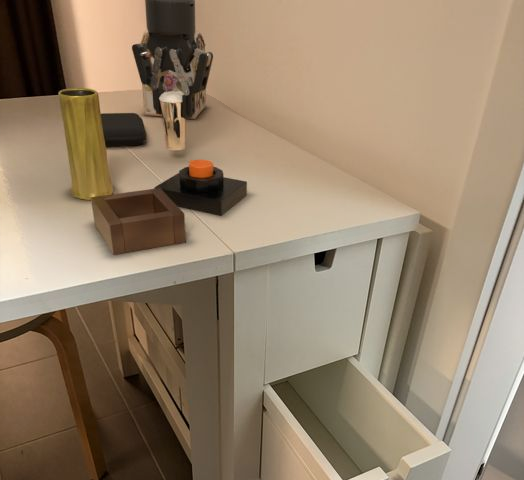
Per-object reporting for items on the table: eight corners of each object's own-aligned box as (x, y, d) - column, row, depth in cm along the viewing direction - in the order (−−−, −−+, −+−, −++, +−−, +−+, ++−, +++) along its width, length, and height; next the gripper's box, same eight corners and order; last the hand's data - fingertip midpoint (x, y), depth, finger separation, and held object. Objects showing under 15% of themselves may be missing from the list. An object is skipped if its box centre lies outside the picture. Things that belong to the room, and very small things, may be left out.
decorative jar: (143, 116, 121) (135, 20, 110) (158, 103, 130) (152, 14, 119) (196, 120, 120) (194, 24, 109) (207, 107, 129) (206, 18, 118)
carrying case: (89, 127, 112) (89, 149, 101) (87, 111, 110) (86, 132, 99) (142, 126, 115) (148, 147, 103) (141, 110, 113) (146, 130, 101)
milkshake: (178, 141, 100) (175, 81, 94) (193, 149, 96) (191, 86, 91) (156, 145, 98) (151, 83, 92) (170, 153, 94) (166, 89, 88)
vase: (96, 203, 81) (81, 99, 73) (63, 195, 83) (44, 93, 75) (121, 190, 86) (110, 90, 77) (89, 183, 88) (75, 85, 79)
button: (184, 176, 82) (184, 164, 80) (196, 169, 84) (196, 157, 83) (206, 180, 80) (206, 168, 79) (217, 173, 83) (217, 161, 82)
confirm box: (155, 201, 83) (153, 175, 80) (184, 182, 89) (183, 158, 87) (221, 215, 80) (221, 188, 77) (246, 195, 86) (247, 169, 84)
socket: (113, 255, 68) (109, 225, 66) (94, 225, 75) (90, 197, 73) (185, 242, 72) (184, 213, 70) (161, 215, 79) (159, 187, 76)
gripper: (115, -6, 83) (126, 114, 93) (200, 2, 79) (201, 127, 89) (142, -9, 89) (149, 105, 99) (223, 0, 85) (222, 117, 95)
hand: (174, 115), depth 94 cm, fingers closed on milkshake, 4 cm apart
